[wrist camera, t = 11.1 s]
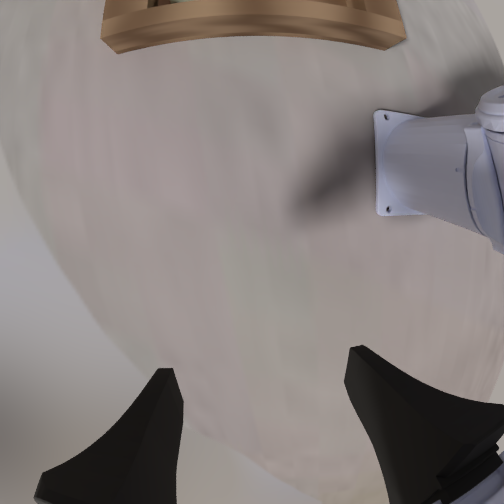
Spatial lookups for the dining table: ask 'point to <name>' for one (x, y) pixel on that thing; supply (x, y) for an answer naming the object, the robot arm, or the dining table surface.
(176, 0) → the sage peg
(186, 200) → the dining table surface
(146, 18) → the walnut rail
